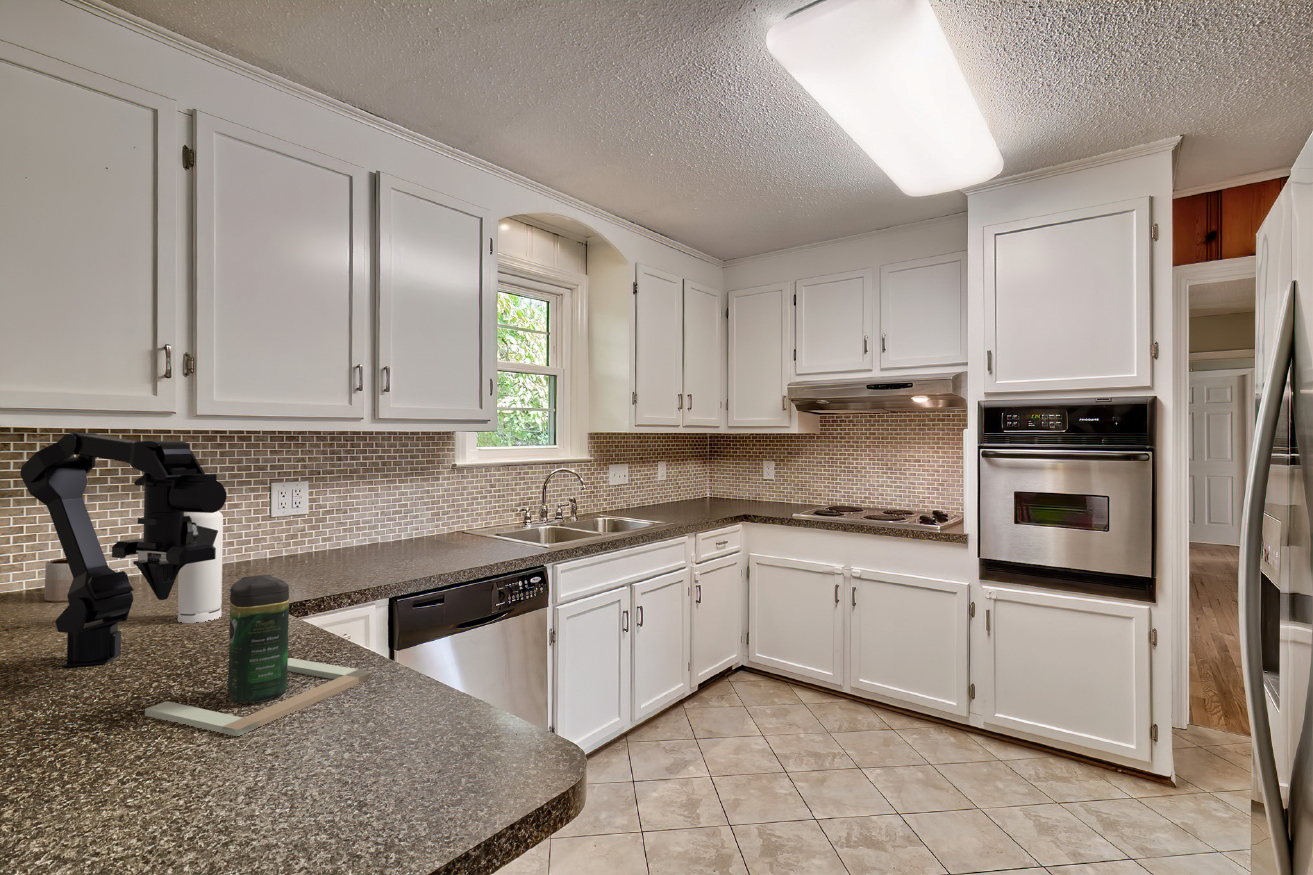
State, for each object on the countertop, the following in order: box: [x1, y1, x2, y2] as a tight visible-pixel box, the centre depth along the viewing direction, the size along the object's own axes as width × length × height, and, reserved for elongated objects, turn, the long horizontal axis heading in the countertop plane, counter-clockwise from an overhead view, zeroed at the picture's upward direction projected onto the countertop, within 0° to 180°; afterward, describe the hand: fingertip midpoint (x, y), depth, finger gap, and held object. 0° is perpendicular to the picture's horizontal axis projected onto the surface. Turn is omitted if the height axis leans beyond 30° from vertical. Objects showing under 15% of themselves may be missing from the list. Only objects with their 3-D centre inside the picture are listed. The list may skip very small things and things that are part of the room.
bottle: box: [177, 510, 224, 624], centre depth 145 cm, size 8×8×28 cm
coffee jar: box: [227, 574, 290, 704], centre depth 102 cm, size 10×8×19 cm
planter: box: [43, 557, 73, 603], centre depth 163 cm, size 11×11×10 cm
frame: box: [144, 657, 373, 737], centre depth 102 cm, size 19×24×1 cm
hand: (162, 599), depth 114 cm, fingers closed
